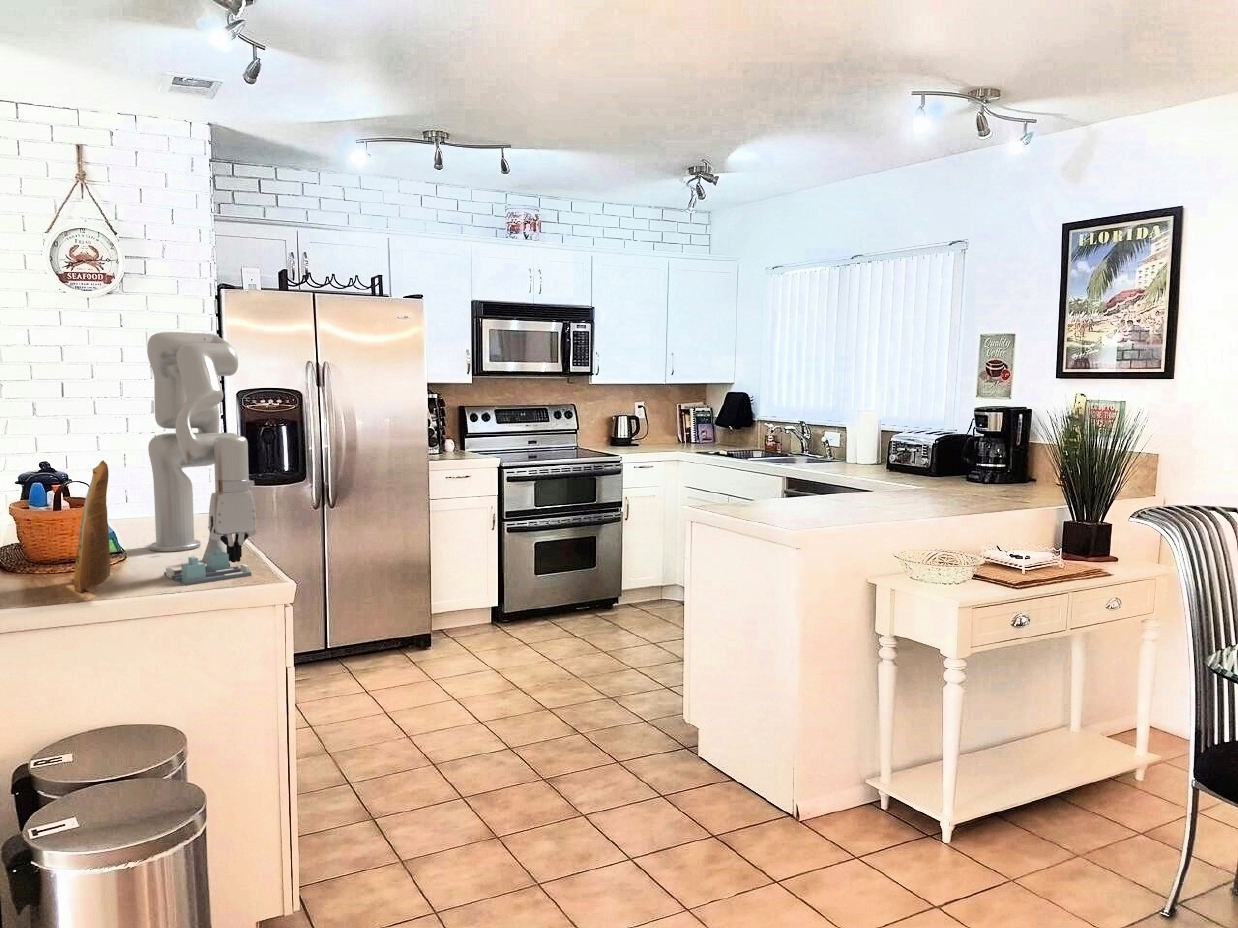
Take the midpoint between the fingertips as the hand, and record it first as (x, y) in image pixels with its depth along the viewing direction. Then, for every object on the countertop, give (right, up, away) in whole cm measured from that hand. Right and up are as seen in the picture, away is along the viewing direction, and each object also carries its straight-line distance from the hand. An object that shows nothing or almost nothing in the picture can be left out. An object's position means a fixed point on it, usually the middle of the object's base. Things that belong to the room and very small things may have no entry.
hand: (234, 561), depth 218 cm
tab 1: (-3, -3, -14) cm, 14 cm away
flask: (-8, -2, +9) cm, 12 cm away
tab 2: (-3, -2, -3) cm, 4 cm away
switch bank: (-3, -4, -8) cm, 9 cm away
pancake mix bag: (-26, -4, -14) cm, 29 cm away
